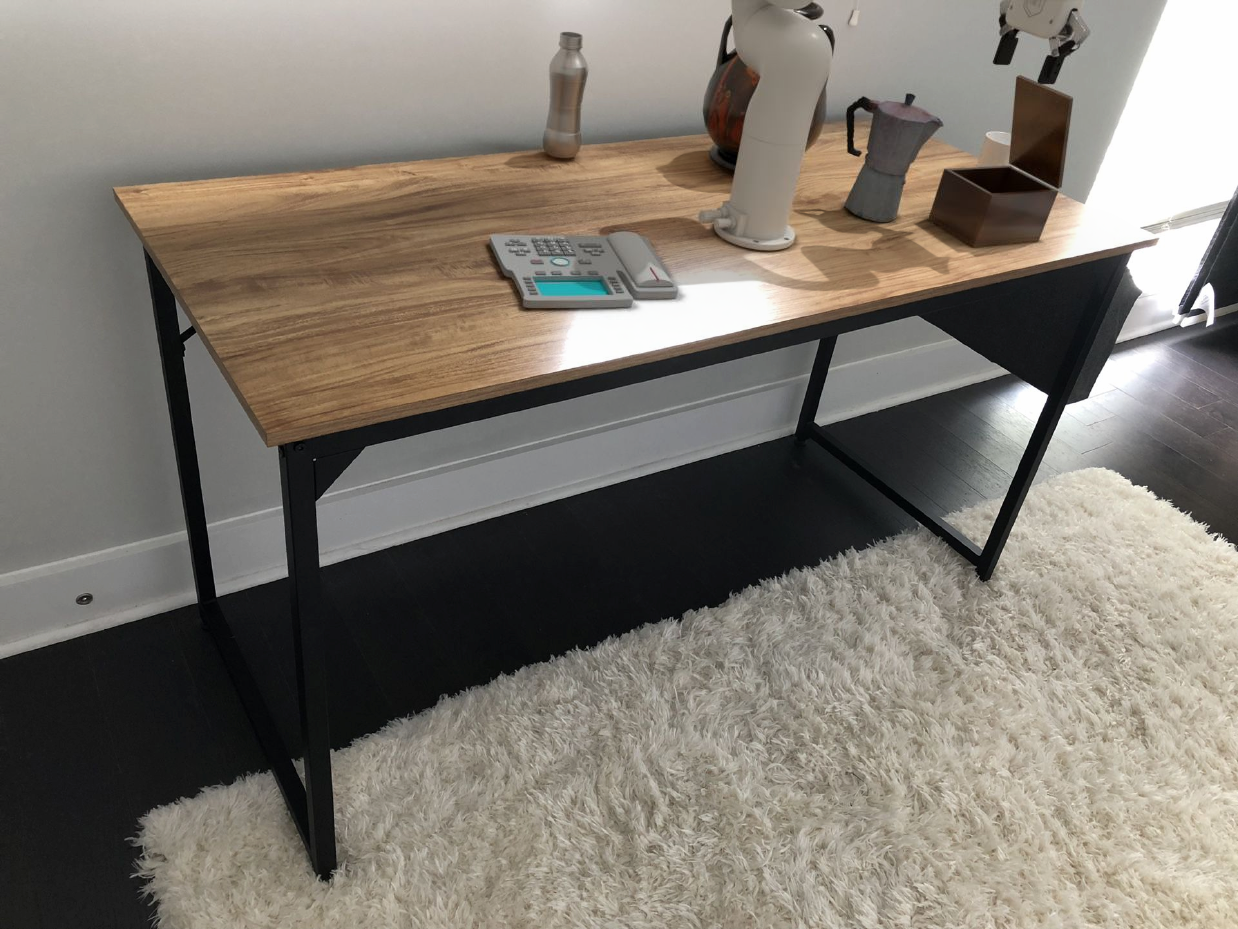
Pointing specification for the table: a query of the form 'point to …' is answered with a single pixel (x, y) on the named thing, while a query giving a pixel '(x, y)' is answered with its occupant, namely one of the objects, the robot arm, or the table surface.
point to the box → (992, 205)
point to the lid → (1040, 130)
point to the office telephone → (583, 269)
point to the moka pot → (886, 154)
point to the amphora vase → (745, 98)
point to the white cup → (995, 150)
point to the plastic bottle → (566, 97)
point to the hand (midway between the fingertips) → (1022, 73)
